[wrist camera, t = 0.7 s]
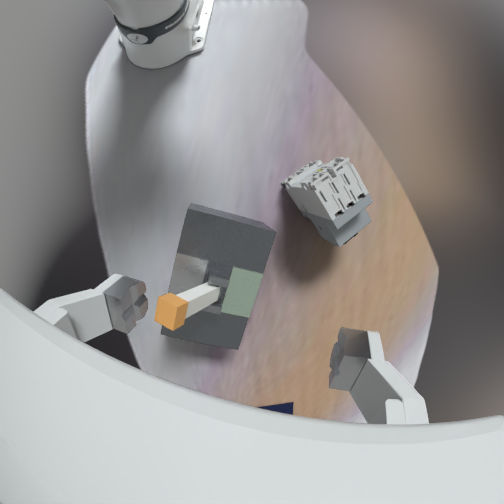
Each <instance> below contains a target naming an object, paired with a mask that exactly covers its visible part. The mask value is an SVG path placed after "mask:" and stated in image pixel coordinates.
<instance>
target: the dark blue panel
mask: <svg viewBox="0 0 504 504" xmlns="http://www.w3.org/2000/svg"><path fill="white" fill-rule="evenodd" d="M257 408H261V409H265V410H270V411H275V412H280V413H285V414H291V415H293V402H292V403H285V404H279V405H272V406H265V407H257Z"/></svg>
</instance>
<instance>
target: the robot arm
mask: <svg viewBox="0 0 504 504" xmlns="http://www.w3.org/2000/svg"><path fill="white" fill-rule="evenodd" d="M105 1H106V3H107V4H108V5H109V7H110V8H111V10H112V11H113V13H114V19H115V23H116V25H117V26H118V29H119V32H120V35H119V40H120V42H121V43H122V44H123V45H124V46H125V49H126V53H127V56H128V58H129V60H130V61H131V62H132V63H134V64H135V65H137V66H139V67H142V68H149V69H155V68H162V67H166V66H169V65H171V64H174V63H176V62H177V61H179V60H181V59H182V58H184V57H185V56H187V55H189V54H192V53H196V52H199V51H201V50H203V49H204V46H205V41H206V36H207V32H208V27H209V23H210V18H211V14H212V10H213V5H214V0H105ZM197 41H201V42H197ZM145 292H146V286H145V283H144V282H142V281H139V280H136V279H133V278H130V277H127V276H124V275H120V274H113V275H112V276H111V277H109V278H108V279H107V280H105V281H104V282H103V283H101V284H100V285H99V286H98V287H96V288H95V289H94V290H93V289H89V290H85V291H81V292H77V293H74V294H69V295H66V296H62V297H58V298H54V299H50V300H48V301H47V302H45V303H44V304H43V305H42V306H40V307H39V308H38V309H36V310H35V311H34V312H32V311H31V310H30V309H28V308H27V307H25V306H24V305H22V304H21V303H20V302H18V301H17V300H15V299H14V298H13V297H11V296H10V295H9V294H7V293H6V292H5V291H4V290H2V289H1V288H0V504H504V416H501V415H497V416H491V417H485V418H479V419H472V420H464V421H456V422H445V423H431V424H429V422H428V415H427V410H426V405H425V401H424V399H423V398H422V396H420V394H419V393H418V392H417V391H416V390H415V389H414V388H413V387H412V386H411V385H410V384H409V383H408V382H407V381H406V379H405V378H404V377H403V376H402V375H401V374H400V373H399V372H398V371H397V370H396V369H395V368H394V367H393V366H392V365H391V364H390V363H389V362H388V361H385V359H384V353H383V348H382V343H381V339H380V334H379V333H378V332H375V331H363V330H357V329H350V328H344V327H341V329H340V331H339V333H338V342H336V343H335V344H334V347H333V349H332V353H331V358H330V367H331V369H332V370H331V372H330V375H329V388H332V389H338V390H344V391H350V394H351V395H352V397H353V399H354V401H355V402H356V404H357V406H358V407H359V409H360V411H361V412H362V414H363V416H364V417H365V419H366V421H367V423H353V422H342V421H332V420H324V419H316V418H309V417H303V416H297V415H291V414H285V413H280V412H275V411H270V410H265V409H261V408H257V407H252V406H248V405H244V404H240V403H236V402H232V401H229V400H225V399H222V398H218V397H215V396H211V395H208V394H205V393H202V392H199V391H196V390H193V389H190V388H187V387H184V386H181V385H178V384H175V383H172V382H170V381H167V380H164V379H162V378H159V377H157V376H154V375H152V374H149V373H147V372H144V371H142V370H140V369H137V368H135V367H133V366H130V365H128V364H126V363H123V362H122V361H119V360H117V359H115V358H113V357H111V356H109V355H107V354H105V353H103V352H101V351H98V350H97V349H95V348H93V347H91V346H89V345H87V344H85V343H84V342H86V341H88V340H90V339H93V338H95V337H97V336H99V335H101V334H103V333H105V332H108V331H110V330H112V329H113V328H114V329H116V330H119V331H121V332H124V333H127V334H129V332H130V331H131V330H132V329H133V328H134V327H135V326H136V321H137V320H140V319H142V318H143V317H144V316H145V314H146V312H147V309H148V300H147V298H146V296H145V295H144V293H145Z"/></svg>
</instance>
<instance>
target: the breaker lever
mask: <svg viewBox="0 0 504 504" xmlns="http://www.w3.org/2000/svg"><path fill="white" fill-rule="evenodd" d="M222 289H223V287H221V286H217V285H212V284H208V282H207V283H204V284H202V285H199V286H197V287H194V288H192V289H189V290H187V291H184V292H182V293H180V294H177V295H174V294H172V293H168V294H165V295H162V296H160V297H158V302H157V308H156V313H155V320H154V321H156V322H158V323H160V324H161V325H163V326H165V327H166V328H168V329H170V330H172V331H174V330H175V329H177V328H179V327H180V326H182V325H184V321H185V319H186V318H188V317H189V316H191V315H193V314H195V313H196V312H198V311H200V310H202V309H204V308H205V307H207V306H209V305H211V304H212V303H214V302H216V301H219V300H220V296H221V292H222Z"/></svg>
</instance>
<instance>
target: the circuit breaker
mask: <svg viewBox="0 0 504 504" xmlns="http://www.w3.org/2000/svg"><path fill="white" fill-rule="evenodd" d="M348 160H350V158H347V159H344V157H339V158H335V159H333V160H332V161H330V162H329V163H327V164H323V163H322V162H321V160H318V161H313V162H310V163H308V164H307V165H305V166H304V167H302V168H301V169H299V170H298V171H297V172H295V173H294V174H292V175H291V176H289V177H288V178H287V179H285V180H284V181H282V182H281V183H282V184H285V186H286V188H285V189H286V190H287V192H288V193H289V195H290V196H291V198H292V199H293V201H294V203H295V204H296V206H297V207H298V209H299V210H300V212H301V213H302V215H303V216H304V217H306V218H307V217H308V218H309V219H311V221H312V222H313V224H314V226H315V227H316V229H317V231H318V232H319V234H320V235H321V237H322V238H323V239H325V240H327V241H329V242H331V243H332V244H333V245H337V246H339V247H340V246H341V245H343V244H346V243H347V242H348V241H349V240H350V239H351V238H352V237H354V236H356V235H357V234H358V232H359V231H360V230H361V229H363V228H364V227H365V226H366V225H367V224H369V223H370V222H371V219H370V217H369V215H368V213H367V211H366V209H365V208H366V207H367V206H368V205H370V204H371V203H372V202H373V201H372V199H371V197H370V195H369V193H368V191H367V189H366V187H365V186H364V184H363V182H362V180H361V178H360V176H359V174H358V173H357V171H356V169H355V167H354V165H353V164H350V163H349V161H348ZM339 161H340V162H339ZM288 180H289V181H288Z"/></svg>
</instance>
